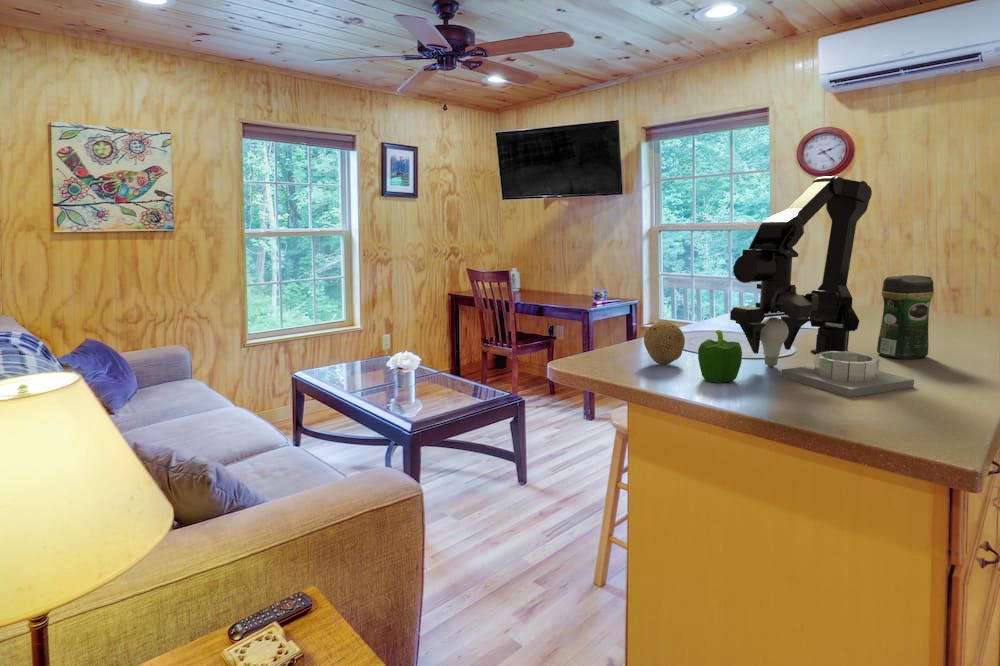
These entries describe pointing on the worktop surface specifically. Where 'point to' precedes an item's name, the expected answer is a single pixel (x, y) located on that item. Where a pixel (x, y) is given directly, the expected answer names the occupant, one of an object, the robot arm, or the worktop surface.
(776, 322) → the lightbulb
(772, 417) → the worktop surface
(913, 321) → the coffee jar
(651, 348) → the natural sponge
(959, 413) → the worktop surface
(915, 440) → the worktop surface
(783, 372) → the socket plate
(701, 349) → the bell pepper
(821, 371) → the socket collar
